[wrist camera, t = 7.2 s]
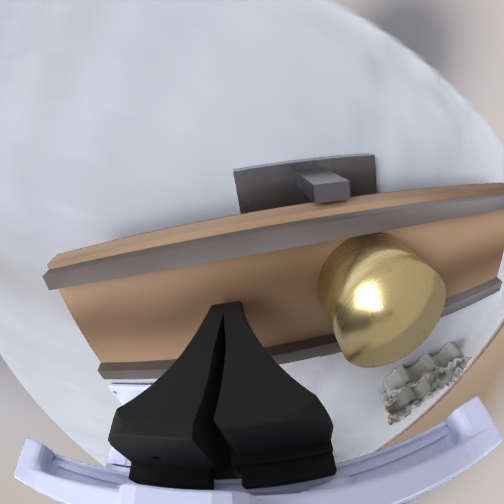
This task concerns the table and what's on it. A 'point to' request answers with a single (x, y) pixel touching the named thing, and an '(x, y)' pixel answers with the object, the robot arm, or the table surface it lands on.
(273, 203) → the pivot bracket
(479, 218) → the beam
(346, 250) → the brass weight
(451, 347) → the egg carton
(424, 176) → the table surface
